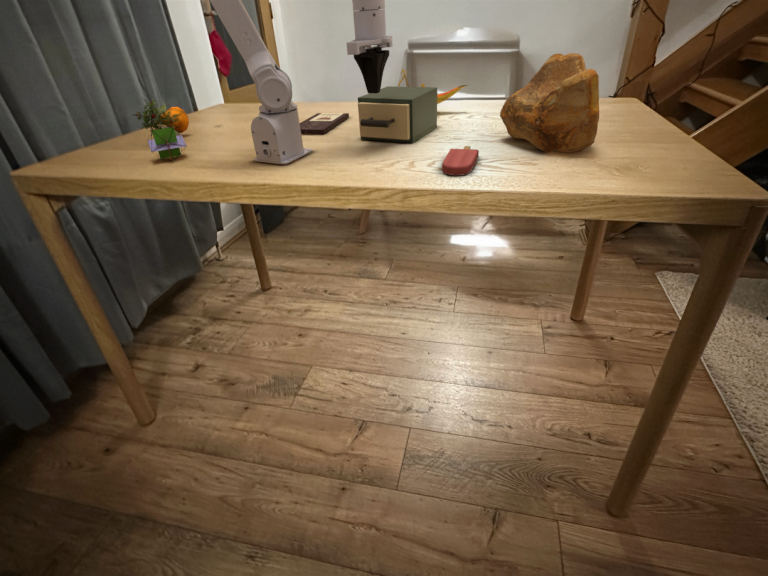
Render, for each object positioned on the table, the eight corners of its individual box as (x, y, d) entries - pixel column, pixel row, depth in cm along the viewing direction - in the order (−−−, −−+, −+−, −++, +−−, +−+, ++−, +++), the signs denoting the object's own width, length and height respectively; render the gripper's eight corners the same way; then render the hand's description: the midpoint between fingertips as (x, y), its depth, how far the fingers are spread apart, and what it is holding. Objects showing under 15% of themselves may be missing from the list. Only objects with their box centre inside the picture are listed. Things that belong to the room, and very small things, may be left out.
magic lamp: (467, 115, 110) (469, 67, 104) (397, 117, 112) (396, 70, 106) (466, 110, 115) (469, 64, 109) (400, 111, 118) (399, 67, 112)
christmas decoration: (216, 148, 117) (177, 150, 98) (173, 135, 116) (127, 135, 97) (221, 111, 113) (182, 105, 94) (177, 98, 113) (129, 90, 94)
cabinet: (412, 143, 91) (412, 99, 86) (360, 139, 96) (357, 97, 91) (436, 127, 101) (437, 87, 97) (388, 124, 106) (387, 86, 102)
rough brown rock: (496, 131, 98) (496, 58, 90) (573, 123, 95) (581, 47, 87) (505, 166, 80) (506, 78, 71) (601, 158, 76) (615, 65, 68)
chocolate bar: (288, 129, 102) (317, 113, 117) (289, 133, 103) (318, 116, 117) (323, 129, 100) (348, 113, 114) (324, 134, 101) (349, 117, 115)
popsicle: (481, 143, 82) (470, 167, 71) (481, 151, 83) (470, 176, 71) (454, 142, 84) (438, 166, 72) (453, 150, 85) (438, 175, 73)
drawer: (399, 145, 86) (398, 109, 83) (350, 141, 91) (347, 107, 87) (431, 125, 99) (431, 93, 96) (386, 122, 104) (385, 92, 100)
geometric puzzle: (190, 151, 86) (176, 113, 86) (153, 157, 83) (139, 118, 83) (191, 165, 93) (179, 130, 93) (157, 171, 90) (145, 135, 90)
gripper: (369, 10, 70) (375, 100, 77) (405, 8, 80) (407, 87, 88) (333, 12, 73) (341, 99, 80) (372, 10, 83) (376, 86, 91)
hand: (373, 92), depth 84 cm, fingers closed
